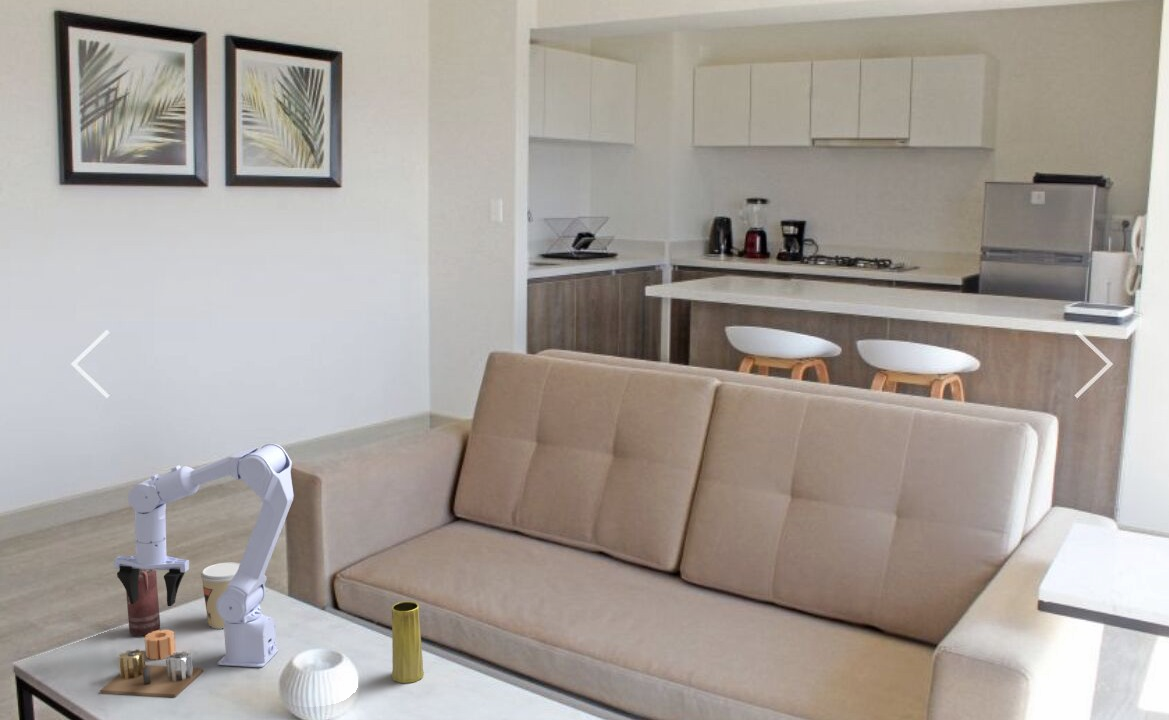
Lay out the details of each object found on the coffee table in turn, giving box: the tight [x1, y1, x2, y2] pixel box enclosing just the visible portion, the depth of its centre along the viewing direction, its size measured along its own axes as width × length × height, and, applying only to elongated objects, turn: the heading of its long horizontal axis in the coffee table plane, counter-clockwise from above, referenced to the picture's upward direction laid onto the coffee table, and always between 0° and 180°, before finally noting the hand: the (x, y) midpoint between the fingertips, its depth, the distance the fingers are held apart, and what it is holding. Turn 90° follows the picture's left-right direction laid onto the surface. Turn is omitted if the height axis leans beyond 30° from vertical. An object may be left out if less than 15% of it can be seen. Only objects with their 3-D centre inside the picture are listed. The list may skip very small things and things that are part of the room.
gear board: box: [99, 664, 205, 698], centre depth 206 cm, size 15×11×4 cm
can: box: [125, 569, 161, 637], centre depth 229 cm, size 6×6×14 cm
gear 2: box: [165, 650, 194, 682], centre depth 207 cm, size 5×5×4 cm
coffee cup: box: [200, 561, 241, 630], centre depth 234 cm, size 9×9×12 cm
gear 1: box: [118, 649, 147, 679], centre depth 208 cm, size 5×5×4 cm
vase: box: [391, 600, 425, 684], centre depth 207 cm, size 6×6×14 cm
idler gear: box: [144, 629, 177, 661], centre depth 219 cm, size 5×5×4 cm
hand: (152, 603), depth 217 cm, fingers open, 7 cm apart
